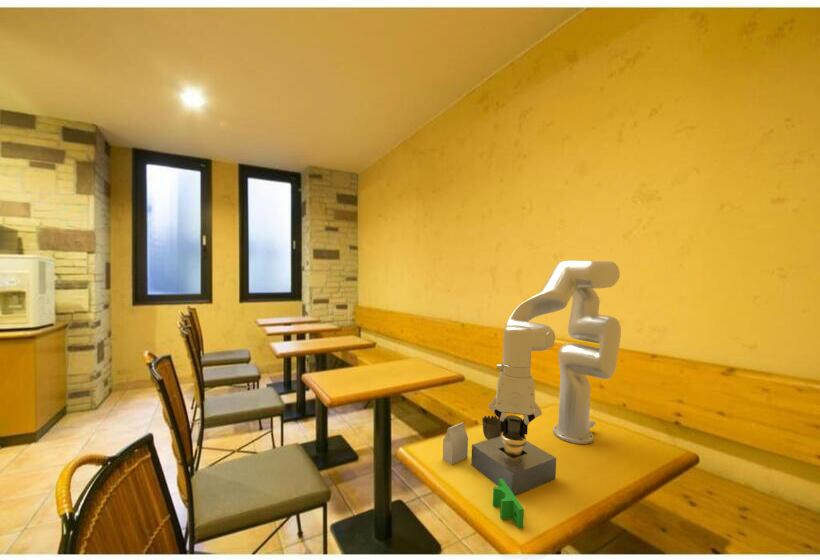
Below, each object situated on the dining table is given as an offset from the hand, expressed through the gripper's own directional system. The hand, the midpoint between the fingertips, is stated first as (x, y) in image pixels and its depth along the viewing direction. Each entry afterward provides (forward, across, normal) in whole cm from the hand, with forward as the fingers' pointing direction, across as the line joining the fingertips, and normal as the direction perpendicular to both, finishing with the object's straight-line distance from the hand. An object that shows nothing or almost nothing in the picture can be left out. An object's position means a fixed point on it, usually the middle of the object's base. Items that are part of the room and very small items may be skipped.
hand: (513, 434), depth 99 cm
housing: (+11, 0, 0) cm, 11 cm away
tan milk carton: (+11, -16, +2) cm, 20 cm away
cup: (+11, -6, +14) cm, 19 cm away
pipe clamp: (+11, -2, -17) cm, 20 cm away
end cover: (+7, 0, 0) cm, 7 cm away
